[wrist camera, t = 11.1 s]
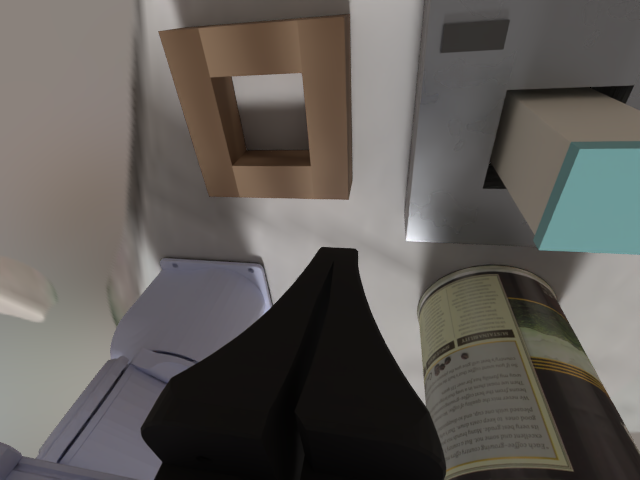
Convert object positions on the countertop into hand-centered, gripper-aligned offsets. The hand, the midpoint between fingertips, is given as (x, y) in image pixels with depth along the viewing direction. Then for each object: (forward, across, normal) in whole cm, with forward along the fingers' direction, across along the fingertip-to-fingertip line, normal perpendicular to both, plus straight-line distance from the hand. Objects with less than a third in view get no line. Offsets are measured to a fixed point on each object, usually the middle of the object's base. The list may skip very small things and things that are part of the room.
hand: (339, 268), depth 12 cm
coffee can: (+11, -10, +13) cm, 19 cm away
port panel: (+10, -9, -2) cm, 14 cm away
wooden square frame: (+10, +5, -3) cm, 12 cm away
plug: (+10, -9, -2) cm, 14 cm away
